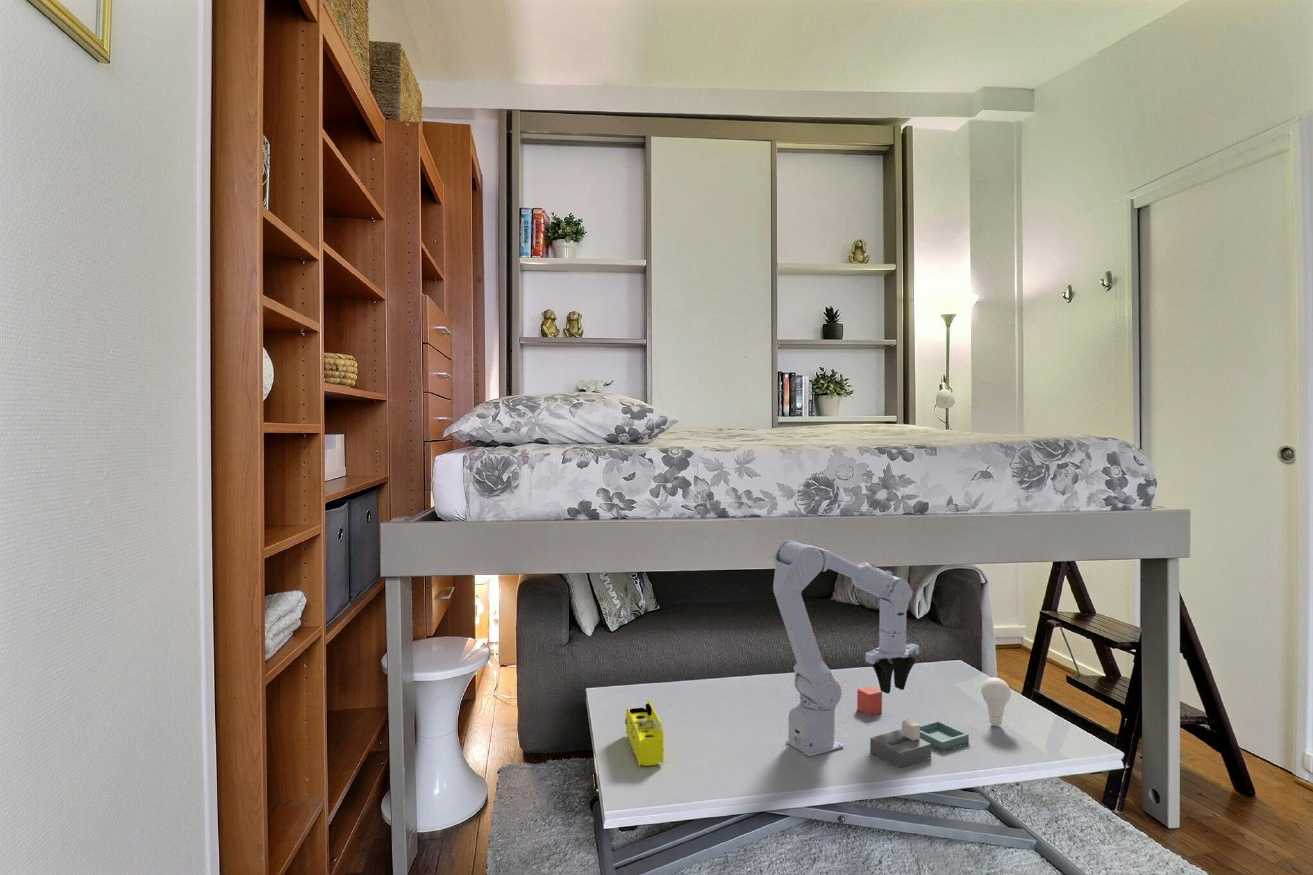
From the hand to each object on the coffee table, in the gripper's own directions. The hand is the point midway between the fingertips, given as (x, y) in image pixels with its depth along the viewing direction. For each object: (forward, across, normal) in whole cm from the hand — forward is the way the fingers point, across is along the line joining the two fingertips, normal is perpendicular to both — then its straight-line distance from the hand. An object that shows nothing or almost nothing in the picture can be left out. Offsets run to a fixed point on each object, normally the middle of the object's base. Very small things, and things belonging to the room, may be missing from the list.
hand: (892, 690), depth 162 cm
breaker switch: (+6, -4, -9) cm, 12 cm away
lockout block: (+10, +4, +11) cm, 15 cm away
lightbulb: (+10, +23, -9) cm, 26 cm away
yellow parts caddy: (+10, -53, +18) cm, 57 cm away
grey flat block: (+9, -7, -9) cm, 15 cm away
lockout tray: (+9, +6, -8) cm, 14 cm away
